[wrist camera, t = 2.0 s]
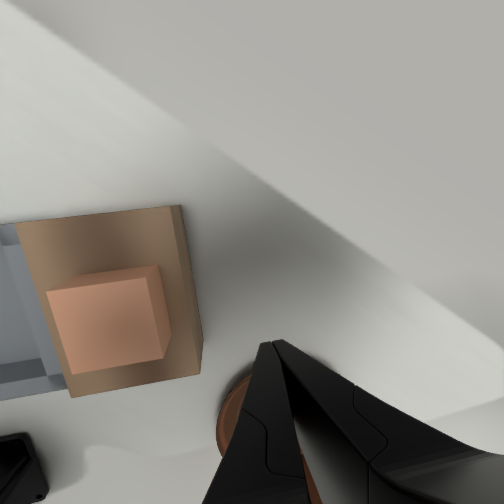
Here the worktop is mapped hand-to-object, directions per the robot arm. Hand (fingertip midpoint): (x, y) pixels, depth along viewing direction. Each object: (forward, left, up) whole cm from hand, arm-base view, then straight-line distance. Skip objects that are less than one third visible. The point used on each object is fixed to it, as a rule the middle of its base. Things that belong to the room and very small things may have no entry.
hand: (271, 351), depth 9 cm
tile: (-7, 0, -7) cm, 10 cm away
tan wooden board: (-8, 0, -11) cm, 13 cm away
